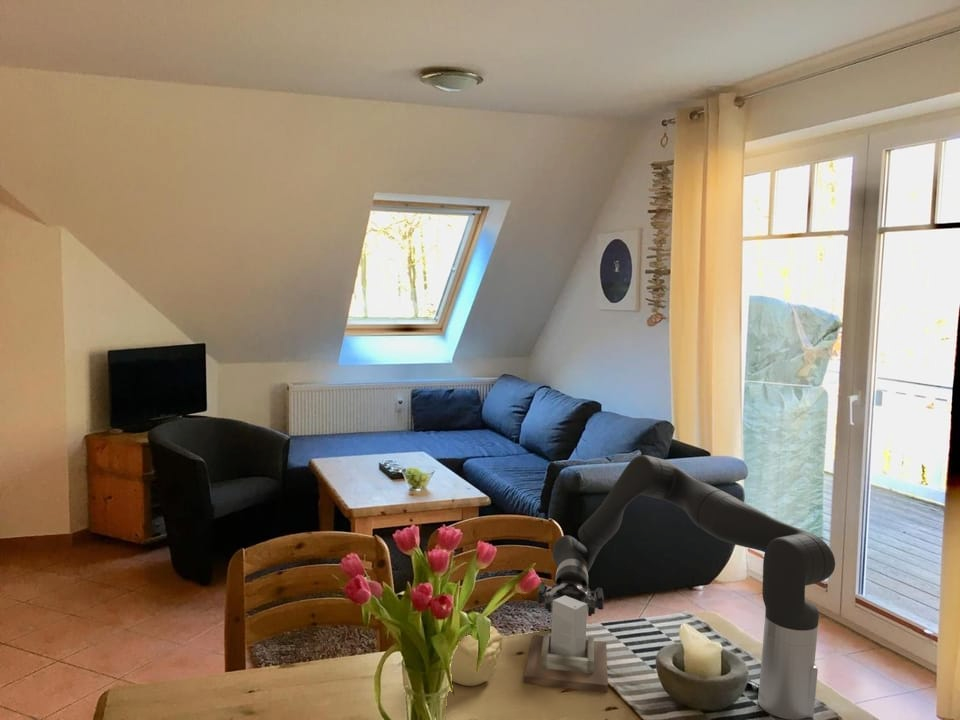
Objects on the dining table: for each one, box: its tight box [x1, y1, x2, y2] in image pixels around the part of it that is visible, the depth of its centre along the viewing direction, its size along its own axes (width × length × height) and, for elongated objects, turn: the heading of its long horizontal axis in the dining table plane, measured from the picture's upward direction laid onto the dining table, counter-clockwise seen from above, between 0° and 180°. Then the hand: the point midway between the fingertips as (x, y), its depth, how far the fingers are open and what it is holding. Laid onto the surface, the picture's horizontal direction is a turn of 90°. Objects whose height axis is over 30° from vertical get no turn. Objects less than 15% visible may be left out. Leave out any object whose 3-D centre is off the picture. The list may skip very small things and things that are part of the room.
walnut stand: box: [524, 632, 609, 693], centre depth 160 cm, size 16×18×4 cm
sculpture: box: [451, 625, 504, 687], centre depth 153 cm, size 11×12×11 cm
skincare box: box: [550, 595, 588, 658], centre depth 159 cm, size 6×4×12 cm
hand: (569, 609), depth 164 cm, fingers open, 8 cm apart
